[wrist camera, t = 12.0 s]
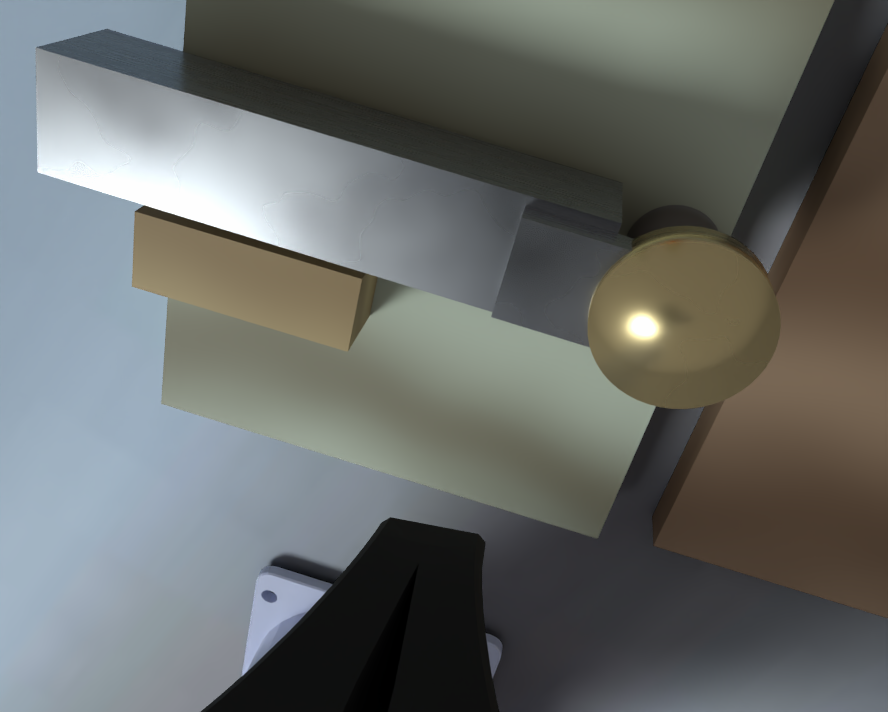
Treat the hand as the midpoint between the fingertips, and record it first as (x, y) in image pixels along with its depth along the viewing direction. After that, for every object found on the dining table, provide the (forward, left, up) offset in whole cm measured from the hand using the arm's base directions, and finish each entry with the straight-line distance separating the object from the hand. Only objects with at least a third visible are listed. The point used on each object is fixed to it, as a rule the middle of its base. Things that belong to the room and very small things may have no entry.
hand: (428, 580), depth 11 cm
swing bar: (+2, +3, -8) cm, 9 cm away
